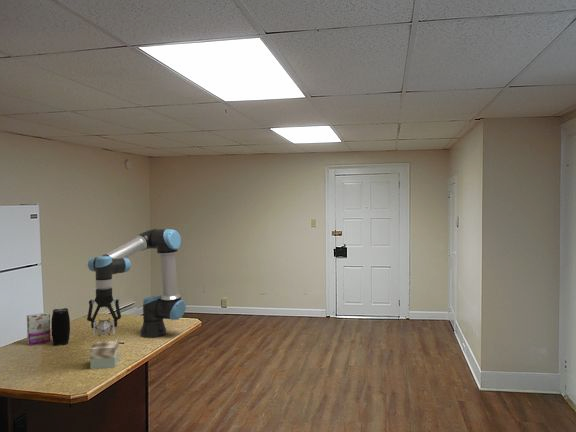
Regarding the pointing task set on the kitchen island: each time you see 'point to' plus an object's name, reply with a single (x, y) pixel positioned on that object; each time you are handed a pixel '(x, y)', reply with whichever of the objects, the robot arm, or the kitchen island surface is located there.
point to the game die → (104, 327)
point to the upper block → (104, 350)
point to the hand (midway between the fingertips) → (104, 334)
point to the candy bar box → (38, 328)
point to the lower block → (104, 363)
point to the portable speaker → (60, 326)
